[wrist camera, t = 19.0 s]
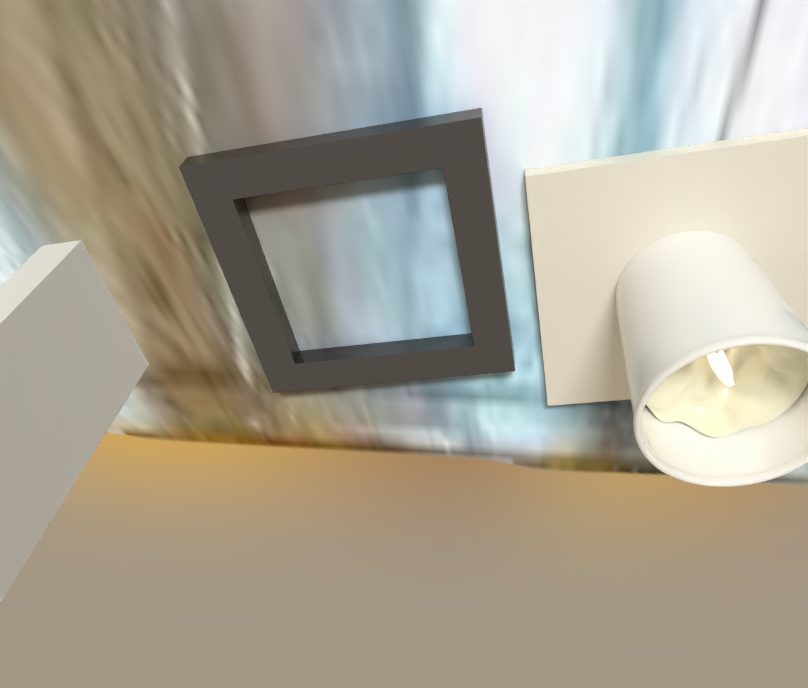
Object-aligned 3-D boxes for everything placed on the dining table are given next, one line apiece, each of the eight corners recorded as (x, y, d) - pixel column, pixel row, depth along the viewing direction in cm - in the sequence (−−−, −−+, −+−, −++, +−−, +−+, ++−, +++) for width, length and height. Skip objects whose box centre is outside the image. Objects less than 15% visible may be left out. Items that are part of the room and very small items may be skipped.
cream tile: (863, 119, 36) (872, 126, 35) (811, 375, 47) (817, 384, 46) (524, 169, 40) (525, 176, 39) (546, 396, 50) (547, 405, 49)
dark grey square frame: (481, 108, 38) (481, 117, 37) (514, 357, 48) (514, 370, 47) (187, 157, 41) (179, 166, 40) (278, 379, 52) (273, 392, 51)
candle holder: (719, 362, 46) (779, 504, 36) (579, 330, 45) (603, 465, 36) (801, 238, 40) (899, 368, 30) (641, 199, 39) (690, 319, 30)
